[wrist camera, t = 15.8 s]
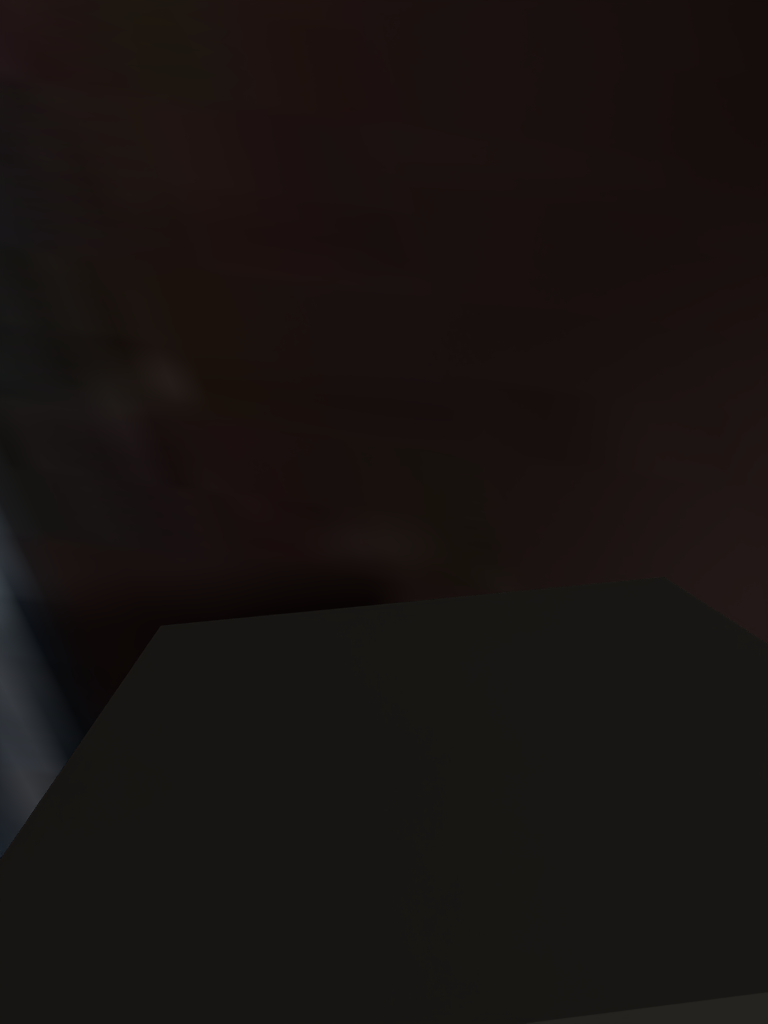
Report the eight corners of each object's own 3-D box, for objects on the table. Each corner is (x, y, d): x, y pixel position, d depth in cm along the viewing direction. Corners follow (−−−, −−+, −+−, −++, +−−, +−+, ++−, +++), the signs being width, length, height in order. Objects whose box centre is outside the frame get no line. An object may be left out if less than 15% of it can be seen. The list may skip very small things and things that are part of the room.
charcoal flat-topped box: (160, 625, 13) (-174, 1112, 5) (664, 577, 14) (1218, 935, 5) (226, 1039, 15) (86, 1892, 7) (657, 984, 16) (1035, 1714, 7)
